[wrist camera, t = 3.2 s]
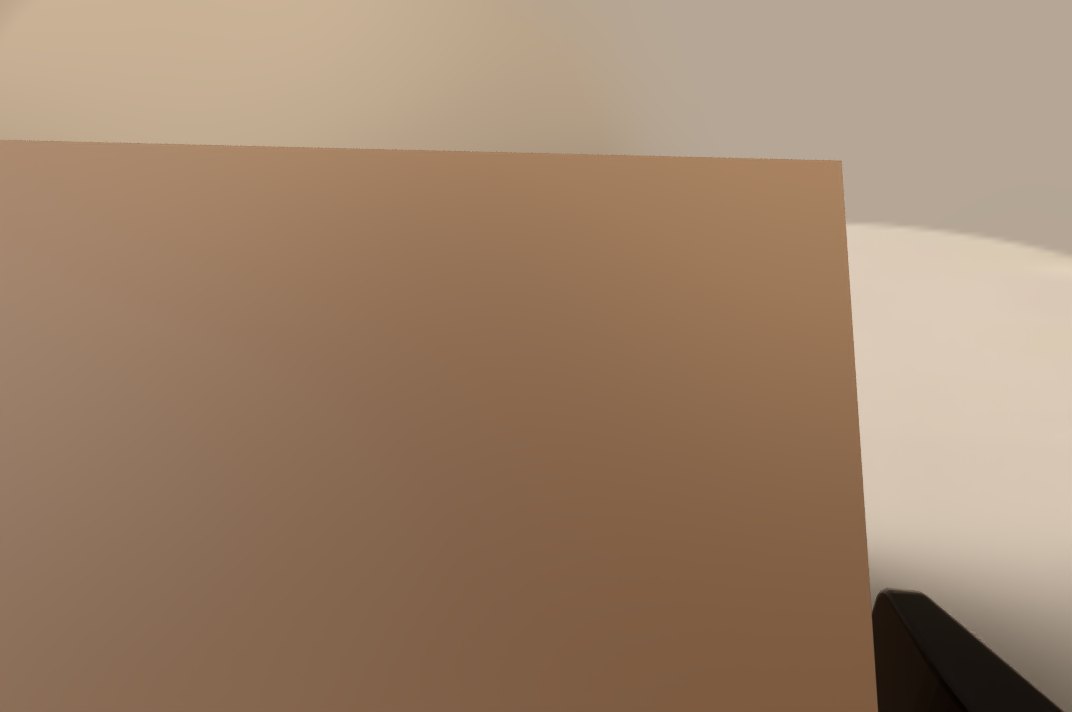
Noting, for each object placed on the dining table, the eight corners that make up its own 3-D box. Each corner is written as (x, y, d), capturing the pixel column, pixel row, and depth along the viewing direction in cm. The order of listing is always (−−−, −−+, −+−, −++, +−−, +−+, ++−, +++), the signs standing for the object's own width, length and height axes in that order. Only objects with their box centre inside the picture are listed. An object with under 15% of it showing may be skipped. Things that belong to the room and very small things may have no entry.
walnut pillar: (647, 761, 14) (950, 1793, 2) (409, 730, 14) (-598, 1338, 2) (656, 512, 16) (841, 158, 3) (443, 494, 16) (-34, 138, 4)
